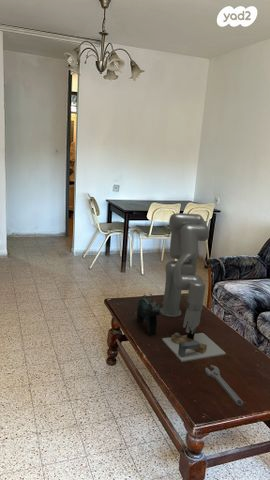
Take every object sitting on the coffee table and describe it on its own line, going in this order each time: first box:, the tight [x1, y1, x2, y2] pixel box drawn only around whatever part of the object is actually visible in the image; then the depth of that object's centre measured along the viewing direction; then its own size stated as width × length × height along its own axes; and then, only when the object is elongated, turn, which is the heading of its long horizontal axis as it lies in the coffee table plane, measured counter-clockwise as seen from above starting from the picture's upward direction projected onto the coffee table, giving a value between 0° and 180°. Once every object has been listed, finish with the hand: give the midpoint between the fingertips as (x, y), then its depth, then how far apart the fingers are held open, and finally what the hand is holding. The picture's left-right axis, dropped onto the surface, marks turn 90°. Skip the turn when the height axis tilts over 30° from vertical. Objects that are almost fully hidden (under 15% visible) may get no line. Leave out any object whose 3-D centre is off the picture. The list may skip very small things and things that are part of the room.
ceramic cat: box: [136, 293, 161, 336], centre depth 189 cm, size 20×6×20 cm, turn 22°
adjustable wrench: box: [204, 365, 244, 407], centre depth 149 cm, size 25×6×2 cm, turn 14°
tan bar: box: [171, 332, 207, 353], centre depth 176 cm, size 17×4×4 cm, turn 55°
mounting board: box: [161, 332, 226, 363], centre depth 176 cm, size 20×24×6 cm
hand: (190, 339), depth 179 cm, fingers closed
